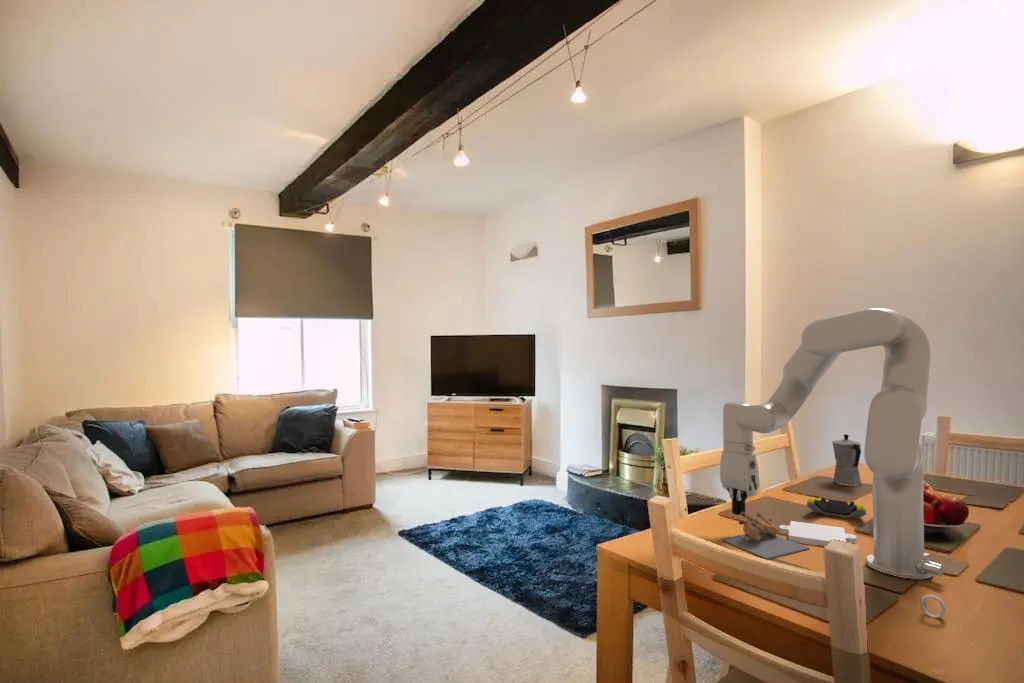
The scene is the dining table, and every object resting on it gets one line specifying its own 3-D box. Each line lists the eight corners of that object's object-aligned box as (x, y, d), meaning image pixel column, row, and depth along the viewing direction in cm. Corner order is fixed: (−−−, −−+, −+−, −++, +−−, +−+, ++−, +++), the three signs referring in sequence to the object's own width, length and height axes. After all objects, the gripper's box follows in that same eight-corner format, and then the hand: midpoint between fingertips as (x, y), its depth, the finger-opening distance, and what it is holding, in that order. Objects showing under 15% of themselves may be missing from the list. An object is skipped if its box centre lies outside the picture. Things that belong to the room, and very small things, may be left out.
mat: (809, 549, 137) (809, 547, 137) (766, 559, 131) (766, 558, 131) (762, 531, 151) (761, 530, 151) (721, 540, 145) (721, 538, 145)
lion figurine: (726, 529, 147) (751, 547, 139) (730, 510, 147) (755, 528, 138) (767, 526, 153) (793, 544, 145) (771, 509, 152) (798, 525, 144)
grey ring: (946, 617, 103) (945, 596, 103) (945, 622, 101) (944, 600, 101) (922, 611, 105) (921, 591, 105) (921, 616, 104) (920, 595, 104)
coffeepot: (824, 478, 206) (823, 431, 206) (850, 479, 206) (849, 431, 206) (846, 489, 191) (845, 438, 191) (874, 489, 190) (873, 438, 190)
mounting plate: (778, 540, 145) (777, 533, 145) (781, 526, 156) (781, 519, 156) (857, 552, 136) (857, 545, 136) (855, 536, 147) (854, 529, 147)
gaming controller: (865, 525, 155) (867, 516, 163) (865, 506, 155) (866, 497, 163) (806, 516, 163) (810, 508, 171) (806, 498, 163) (810, 490, 171)
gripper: (770, 450, 144) (771, 519, 144) (727, 441, 158) (727, 504, 158) (750, 453, 141) (750, 523, 141) (707, 443, 155) (708, 508, 155)
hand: (738, 513), depth 150 cm, fingers closed
